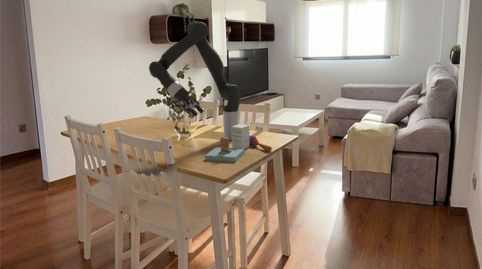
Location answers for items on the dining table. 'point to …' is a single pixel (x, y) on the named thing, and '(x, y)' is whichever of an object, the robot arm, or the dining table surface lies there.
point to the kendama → (255, 142)
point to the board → (224, 155)
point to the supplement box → (240, 136)
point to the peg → (224, 145)
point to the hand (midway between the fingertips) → (199, 113)
